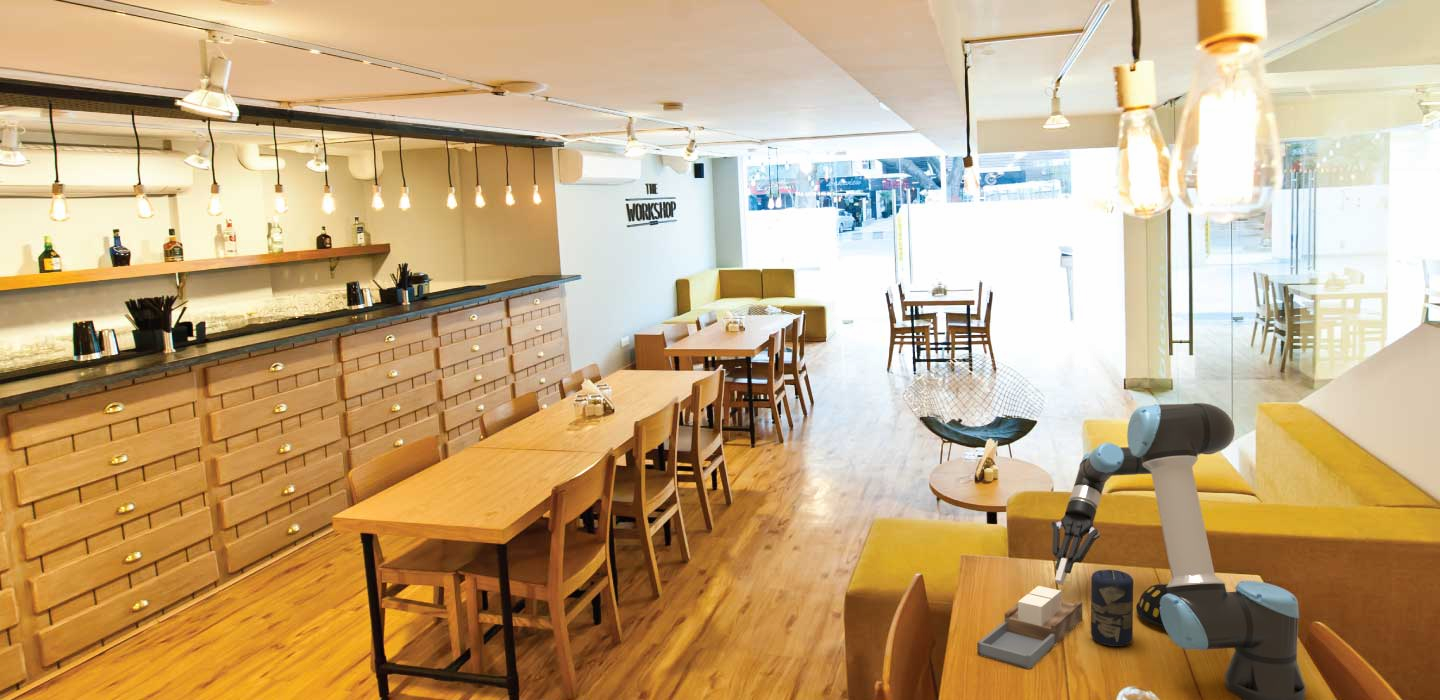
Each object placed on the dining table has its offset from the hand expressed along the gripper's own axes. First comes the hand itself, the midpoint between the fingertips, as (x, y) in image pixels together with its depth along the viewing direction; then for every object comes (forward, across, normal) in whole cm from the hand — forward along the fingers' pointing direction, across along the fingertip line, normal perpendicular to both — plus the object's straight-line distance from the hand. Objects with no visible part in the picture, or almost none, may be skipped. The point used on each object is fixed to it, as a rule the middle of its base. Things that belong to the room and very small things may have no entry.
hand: (1059, 582), depth 247 cm
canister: (+13, -17, +1) cm, 21 cm away
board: (+14, 0, +2) cm, 14 cm away
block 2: (+10, 0, +4) cm, 11 cm away
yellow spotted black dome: (-1, -25, -13) cm, 28 cm away
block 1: (+15, 0, +9) cm, 17 cm away
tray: (+25, 0, +14) cm, 29 cm away
